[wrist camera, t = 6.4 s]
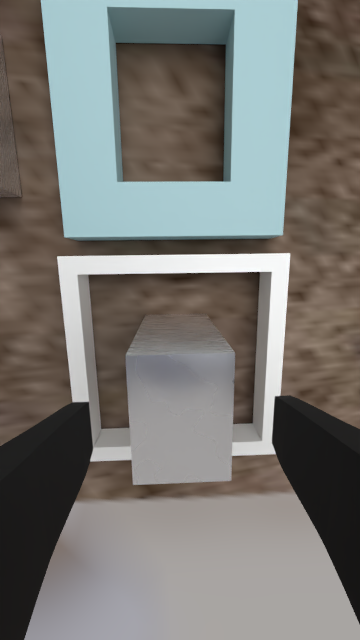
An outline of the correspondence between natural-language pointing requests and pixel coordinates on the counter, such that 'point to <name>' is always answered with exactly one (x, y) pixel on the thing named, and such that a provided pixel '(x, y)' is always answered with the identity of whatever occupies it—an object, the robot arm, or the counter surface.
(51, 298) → the counter surface
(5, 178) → the button housing
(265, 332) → the white square frame
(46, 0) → the pale blue window frame
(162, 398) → the billet
